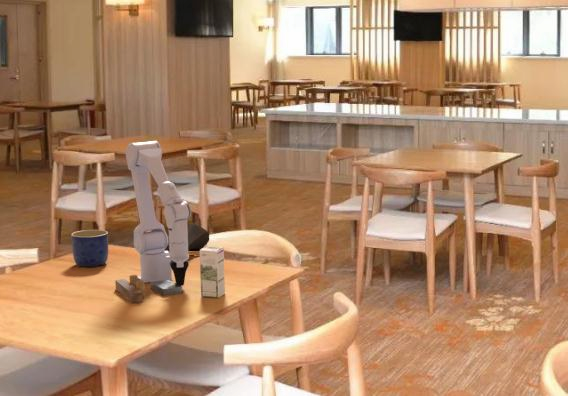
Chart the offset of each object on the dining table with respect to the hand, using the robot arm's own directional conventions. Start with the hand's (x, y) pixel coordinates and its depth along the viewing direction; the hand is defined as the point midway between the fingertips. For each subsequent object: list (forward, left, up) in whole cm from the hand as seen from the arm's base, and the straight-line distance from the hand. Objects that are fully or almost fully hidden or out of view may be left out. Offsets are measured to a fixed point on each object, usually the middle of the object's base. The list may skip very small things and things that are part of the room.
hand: (180, 285), depth 309 cm
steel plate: (+4, 0, -2) cm, 5 cm away
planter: (+16, -47, -2) cm, 50 cm away
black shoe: (-18, -44, -2) cm, 48 cm away
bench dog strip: (+15, 0, -1) cm, 15 cm away
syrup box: (-6, +12, -1) cm, 14 cm away
